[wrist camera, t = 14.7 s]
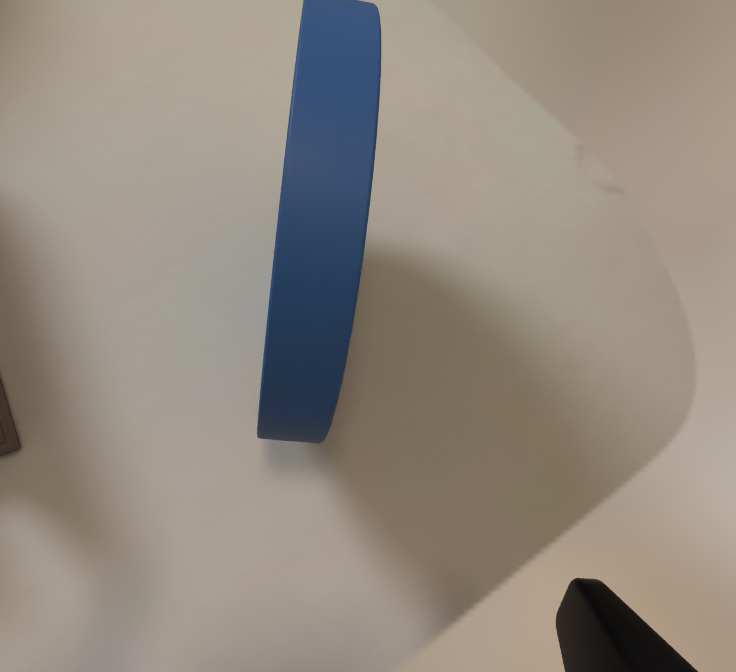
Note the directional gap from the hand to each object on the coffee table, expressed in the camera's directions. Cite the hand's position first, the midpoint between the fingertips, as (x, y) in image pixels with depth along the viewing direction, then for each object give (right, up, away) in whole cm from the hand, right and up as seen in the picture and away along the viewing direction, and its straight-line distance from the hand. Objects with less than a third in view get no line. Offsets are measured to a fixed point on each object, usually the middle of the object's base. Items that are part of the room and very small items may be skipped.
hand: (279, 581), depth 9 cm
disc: (-1, +4, +12) cm, 13 cm away
